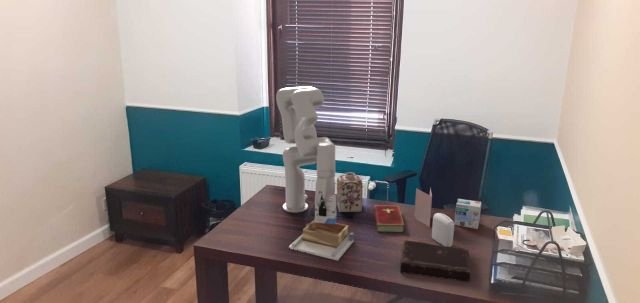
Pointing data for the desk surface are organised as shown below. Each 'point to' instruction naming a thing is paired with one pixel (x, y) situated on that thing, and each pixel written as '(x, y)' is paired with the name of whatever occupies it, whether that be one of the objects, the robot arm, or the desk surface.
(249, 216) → the desk surface
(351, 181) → the decorative jar
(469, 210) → the light bulb box
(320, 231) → the crate
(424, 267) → the diary
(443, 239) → the photo printer
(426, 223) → the greeting card
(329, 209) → the ink box
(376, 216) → the hardcover book
